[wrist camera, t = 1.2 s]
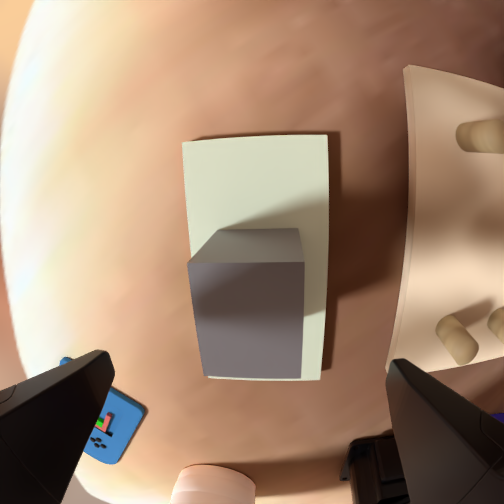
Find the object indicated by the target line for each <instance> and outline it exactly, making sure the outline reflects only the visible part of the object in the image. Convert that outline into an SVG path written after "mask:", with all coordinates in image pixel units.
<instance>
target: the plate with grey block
mask: <svg viewBox="0 0 504 504" xmlns="http://www.w3.org/2000/svg"><path fill="white" fill-rule="evenodd" d="M182 151H183V167H184V181H185V195H186V207H187V218H188V229H189V239H190V248H191V259H190V260H189V262H188V263H187V265H188V274H189V282H190V289H191V297H192V304H193V311H194V318H195V325H196V331H197V337H198V344H199V350H200V356H201V362H202V367H203V373H204V376H208V378H218V379H236V380H269V381H297V380H320V374H321V364H322V353H323V341H324V328H325V313H326V296H327V275H328V243H329V171H328V140H327V135H274V136H251V137H235V138H221V139H210V140H199V141H190V142H182Z"/></svg>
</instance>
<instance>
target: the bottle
mask: <svg viewBox="0 0 504 504" xmlns="http://www.w3.org/2000/svg"><path fill="white" fill-rule="evenodd" d="M255 490H256V485H255V484H254V482H253V481H252V480H251V479H250V478H248V477H247V476H245V475H244V474H242V473H240V472H237V471H234V470H232V469H229V468H224V467H220V466H213V465H193V466H189V467H187V468H184V469H182V471H181V472H180V474H179V477H178V480H177V482H176V483H175V486H174V489H173V492H172V498H171V501H170V504H255Z"/></svg>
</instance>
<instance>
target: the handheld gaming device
mask: <svg viewBox="0 0 504 504" xmlns="http://www.w3.org/2000/svg"><path fill="white" fill-rule="evenodd" d="M69 361H72V360H71V359H69V358H67V357H64V358H63V359H62V360H61V361H60V365H63V364H65V363H67V362H69ZM60 365H59V366H60ZM144 413H145V410H144V408H143V407H142V406H141V405H140V404H138V403H136V402H135V401H133V400H131V399H130V398H128V397H126V396H125V395H123V394H121V393H120V392H118V391H117V390H115V389H113V388H112V387H110V390H109V393H108V396H107V398H106V401H105V404H104V407H103V409H102V412H101V414H100V416H99V418H98V421H97V423H96V425H95V427H94V429H93V431H92V433H91V435H90V438H89V440H88V442H87V444H86V446H85V449H84V452H85V453H87V454H88V455H90V456H92V457H93V458H95V459H97V460H99V461H101V462H103V463H106V464H116V463H117V461H118V460H119V458H120V456H121V454H122V452H123V451H124V449H125V447H126V445H127V443H128V442H129V440H130V438H131V436H132V434H133V433H134V431H135V429H136V427H137V425H138V424H139V422H140V420H141V418H142V417H143V415H144Z"/></svg>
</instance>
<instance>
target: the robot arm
mask: <svg viewBox="0 0 504 504" xmlns="http://www.w3.org/2000/svg"><path fill="white" fill-rule="evenodd" d="M114 376H115V370H114V367H113V364H112V361H111V358H110V355H109V353H108V352H107V351H104V350H94V351H92V352H90V353H87V354H85V355H83V356H81V357H78V358H76V359H74V360H72V361H69V362H67V363H65V364H63V365H60V366H58V367H56V368H53V369H51V370H49V371H46V372H44V373H42V374H39V375H37V376H35V377H32V378H30V379H28V380H25V381H23V382H21V383H18V384H17V385H13V386H11V387H9V388H6V389H4V390H1V391H0V504H61V502H62V500H63V497H64V495H65V492H66V490H67V488H68V485H69V483H70V481H71V478H72V476H73V473H74V471H75V469H76V467H77V464H78V462H79V460H80V457H81V455H82V453H83V451H84V449H85V446H86V444H87V442H88V440H89V438H90V435H91V433H92V431H93V429H94V427H95V425H96V423H97V421H98V418H99V416H100V414H101V412H102V409H103V407H104V404H105V401H106V398H107V396H108V393H109V390H110V387H111V385H112V382H113V379H114ZM386 391H387V397H388V403H389V409H390V416H391V422H392V428H393V432H394V436H390V437H384V438H376V439H369V440H360V441H354V442H352V443H350V445H349V448H348V451H347V454H346V457H345V460H344V463H343V466H342V469H341V472H340V475H339V479H340V481H348V480H350V484H351V492H352V501H353V504H504V423H502V422H501V421H499V420H498V419H496V418H494V417H493V416H491V415H490V414H488V413H487V412H485V411H484V410H481V409H480V408H479V407H477V406H476V405H474V404H473V403H471V402H470V401H468V400H467V399H465V398H464V397H462V396H461V395H459V394H458V393H456V392H455V391H453V390H452V389H450V388H449V387H447V386H446V385H444V384H443V383H441V382H440V381H438V380H437V379H435V378H434V377H432V376H431V375H429V374H428V373H426V372H425V371H423V370H422V369H420V368H419V367H417V366H416V365H414V364H413V363H411V362H410V361H408V360H407V359H405V358H397V359H393V360H391V362H390V366H389V370H388V374H387V378H386Z"/></svg>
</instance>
